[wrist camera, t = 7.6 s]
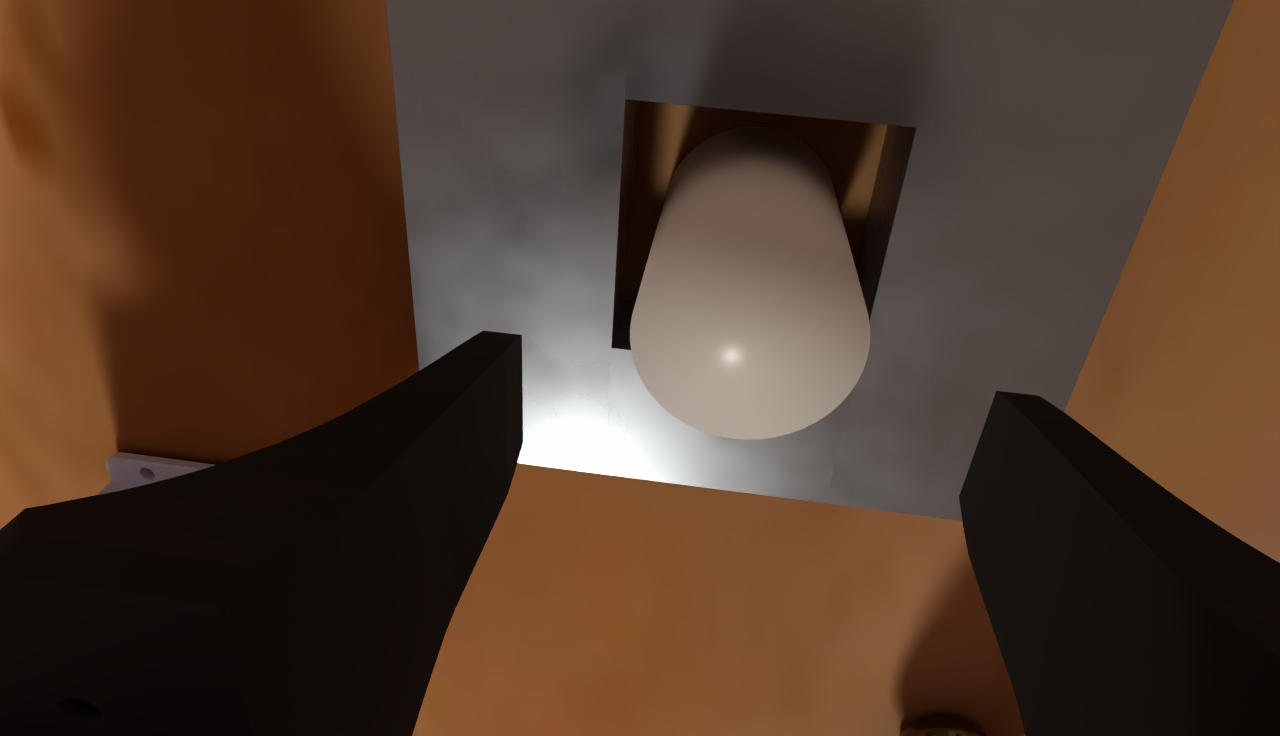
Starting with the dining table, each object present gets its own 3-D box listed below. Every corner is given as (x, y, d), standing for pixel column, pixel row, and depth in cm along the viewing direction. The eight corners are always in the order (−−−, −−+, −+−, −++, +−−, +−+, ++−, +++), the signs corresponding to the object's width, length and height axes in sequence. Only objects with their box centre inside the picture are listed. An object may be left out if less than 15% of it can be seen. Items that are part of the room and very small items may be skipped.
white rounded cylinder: (658, 279, 22) (622, 424, 16) (672, 117, 20) (638, 216, 14) (818, 298, 22) (843, 453, 16) (852, 136, 20) (896, 245, 14)
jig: (459, 393, 25) (426, 451, 22) (427, -142, 18) (372, -146, 15) (988, 458, 24) (1015, 527, 21) (1186, -83, 16) (1265, -77, 14)
